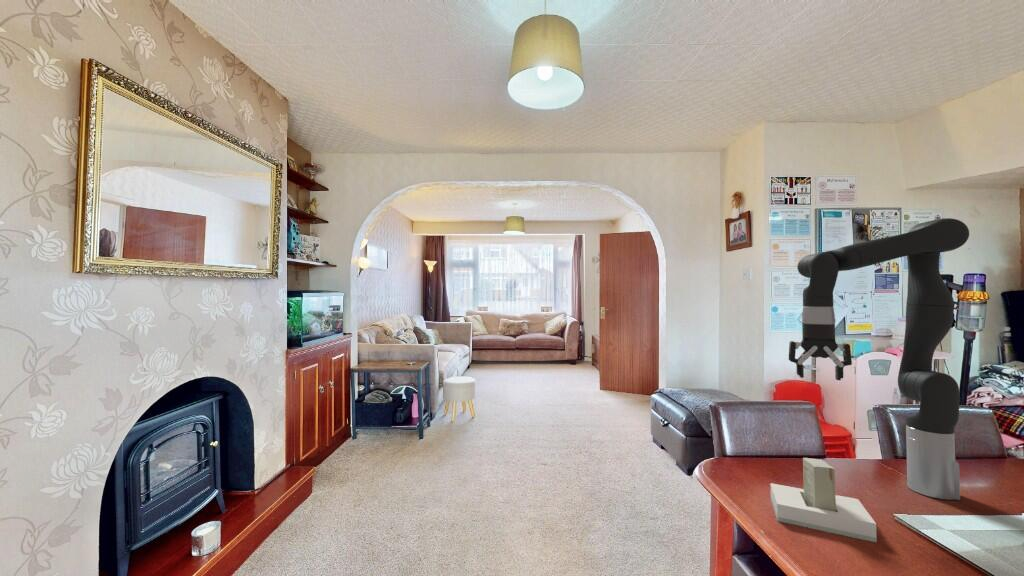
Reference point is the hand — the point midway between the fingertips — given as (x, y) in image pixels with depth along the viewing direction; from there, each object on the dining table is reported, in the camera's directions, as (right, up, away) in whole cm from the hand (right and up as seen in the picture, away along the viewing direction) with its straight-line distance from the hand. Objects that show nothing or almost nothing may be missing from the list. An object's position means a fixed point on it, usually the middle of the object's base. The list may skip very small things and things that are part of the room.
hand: (819, 378), depth 114 cm
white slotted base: (-15, -29, -19) cm, 38 cm away
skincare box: (-15, -29, -19) cm, 37 cm away
